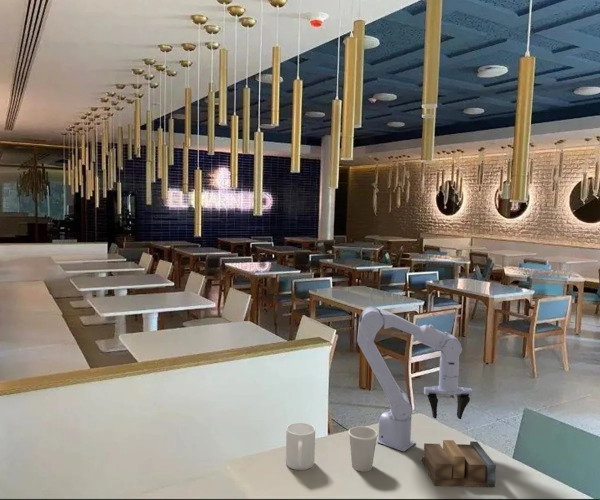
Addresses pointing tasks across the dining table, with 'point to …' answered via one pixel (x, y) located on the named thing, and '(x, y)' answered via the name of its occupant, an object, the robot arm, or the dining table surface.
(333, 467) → the dining table surface
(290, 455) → the mug
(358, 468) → the dixie cup
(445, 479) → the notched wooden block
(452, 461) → the tall tan pillar
